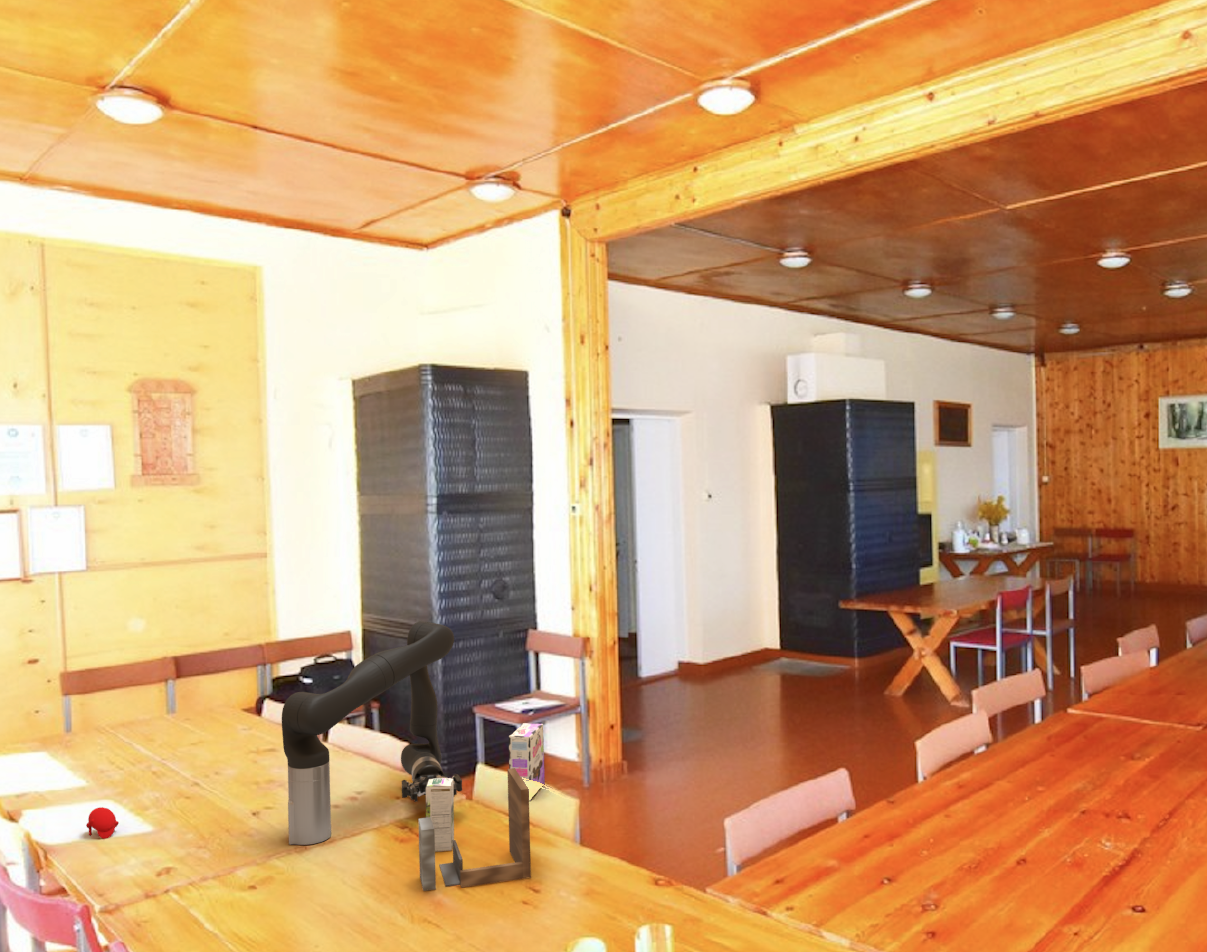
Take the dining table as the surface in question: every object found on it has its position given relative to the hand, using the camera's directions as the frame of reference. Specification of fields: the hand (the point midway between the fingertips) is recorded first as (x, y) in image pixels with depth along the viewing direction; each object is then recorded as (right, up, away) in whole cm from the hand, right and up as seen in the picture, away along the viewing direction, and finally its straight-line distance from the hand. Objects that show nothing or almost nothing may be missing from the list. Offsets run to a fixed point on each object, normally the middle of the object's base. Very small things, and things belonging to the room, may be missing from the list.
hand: (434, 795), depth 220 cm
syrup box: (+3, -8, -11) cm, 14 cm away
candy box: (+20, -8, +25) cm, 33 cm away
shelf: (+12, -8, -24) cm, 28 cm away
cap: (-79, -10, +3) cm, 80 cm away
